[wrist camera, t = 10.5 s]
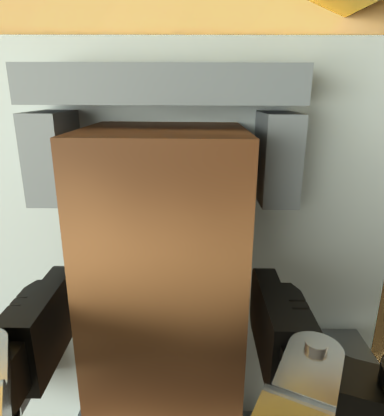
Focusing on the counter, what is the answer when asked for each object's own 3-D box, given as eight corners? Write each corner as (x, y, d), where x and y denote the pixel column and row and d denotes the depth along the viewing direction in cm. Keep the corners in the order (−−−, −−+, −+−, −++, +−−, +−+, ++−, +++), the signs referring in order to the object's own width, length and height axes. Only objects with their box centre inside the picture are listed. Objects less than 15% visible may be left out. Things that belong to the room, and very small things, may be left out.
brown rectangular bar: (101, 121, 13) (49, 137, 9) (237, 122, 13) (259, 138, 9) (124, 446, 18) (98, 570, 14) (223, 448, 18) (232, 574, 14)
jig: (-69, 39, 14) (-258, 2, 8) (409, 39, 14) (563, 2, 8) (15, 466, 21) (-56, 610, 15) (336, 471, 20) (390, 620, 15)
